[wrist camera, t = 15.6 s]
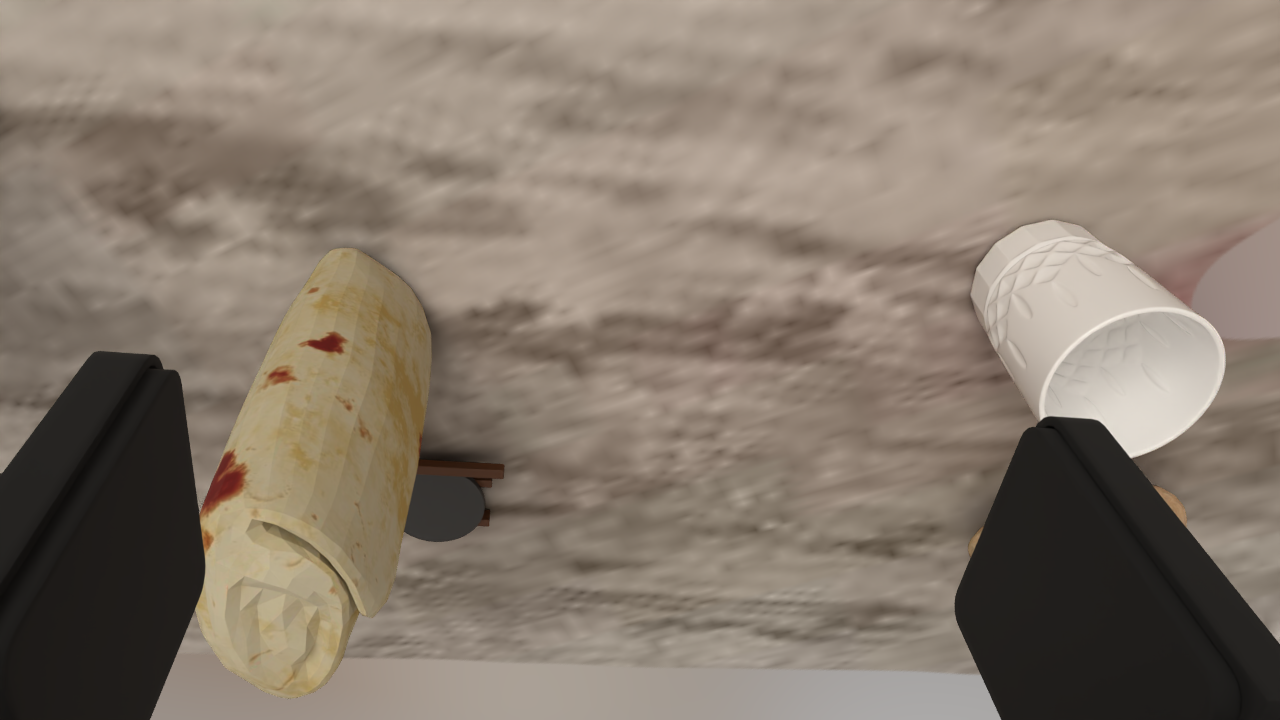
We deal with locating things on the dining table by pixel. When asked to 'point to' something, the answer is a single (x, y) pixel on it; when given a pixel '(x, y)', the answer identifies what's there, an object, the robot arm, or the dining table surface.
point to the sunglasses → (449, 499)
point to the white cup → (1096, 336)
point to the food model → (317, 478)
